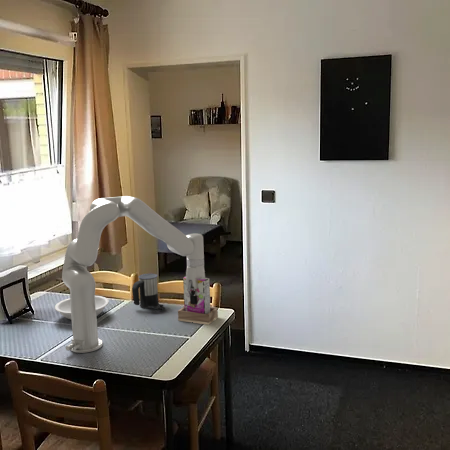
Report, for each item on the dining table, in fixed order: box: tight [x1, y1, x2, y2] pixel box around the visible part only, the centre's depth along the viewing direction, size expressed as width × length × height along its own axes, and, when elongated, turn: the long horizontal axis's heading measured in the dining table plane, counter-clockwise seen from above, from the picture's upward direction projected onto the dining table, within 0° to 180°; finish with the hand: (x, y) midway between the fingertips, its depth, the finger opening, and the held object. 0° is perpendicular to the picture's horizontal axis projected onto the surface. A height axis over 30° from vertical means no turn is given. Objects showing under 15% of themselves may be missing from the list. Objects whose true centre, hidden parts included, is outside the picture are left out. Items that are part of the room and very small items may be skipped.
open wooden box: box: [177, 306, 219, 326], centre depth 236 cm, size 9×15×4 cm, turn 65°
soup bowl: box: [54, 295, 110, 320], centre depth 243 cm, size 24×24×7 cm
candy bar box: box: [182, 276, 211, 314], centre depth 235 cm, size 11×5×16 cm, turn 59°
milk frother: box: [131, 273, 166, 312], centre depth 252 cm, size 14×16×15 cm
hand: (197, 301), depth 235 cm, fingers closed on candy bar box, 5 cm apart
